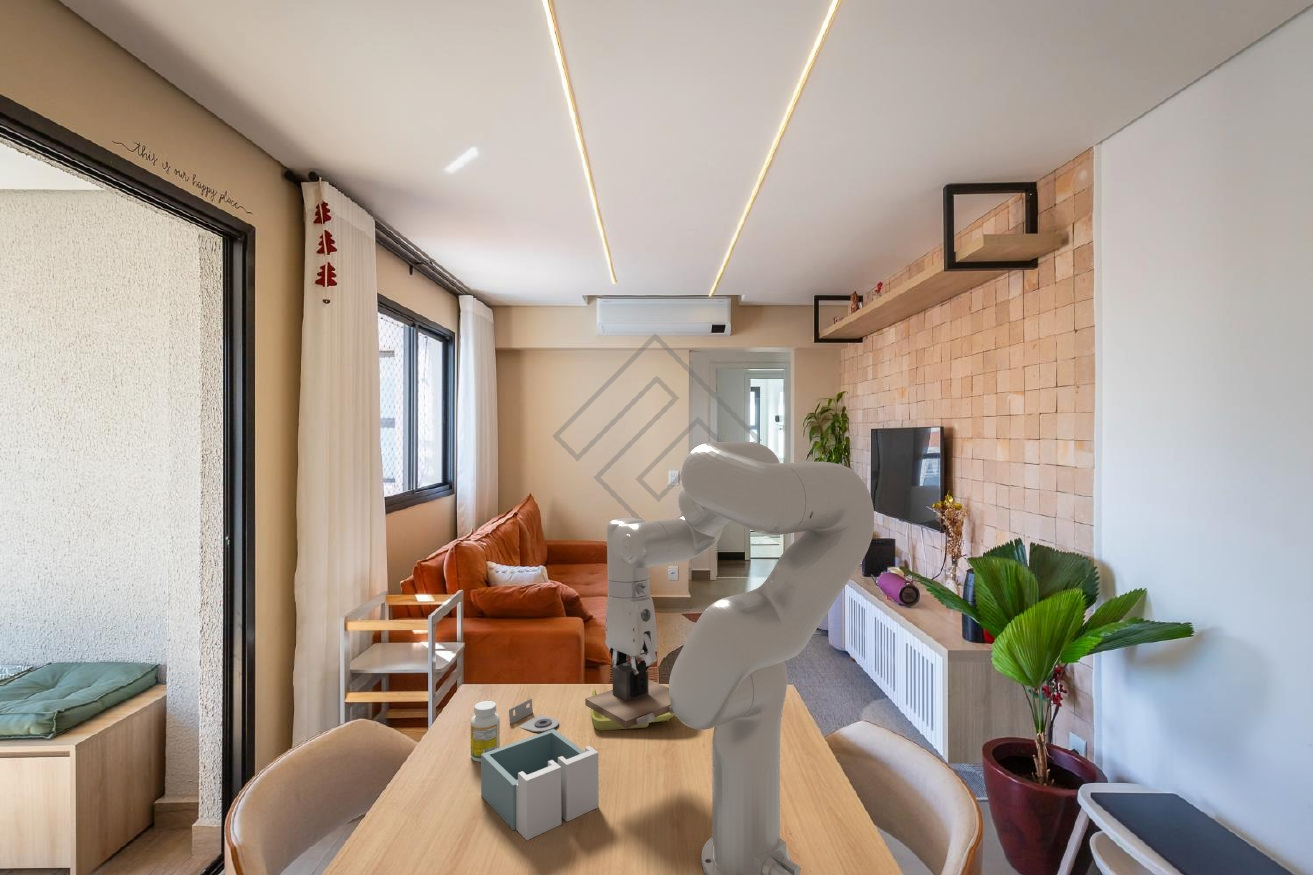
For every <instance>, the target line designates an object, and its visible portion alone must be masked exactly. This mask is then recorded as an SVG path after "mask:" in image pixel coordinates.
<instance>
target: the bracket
mask: <svg viewBox="0 0 1313 875" xmlns="http://www.w3.org/2000/svg"><path fill="white" fill-rule="evenodd" d="M532 713H533V699H532V698H529V699H527V700H525V701H523V702H521V703H519V704H517V705H515V706H512V707H511V708H509V710H508V719H509V724H510V725H512V724H514V723H516V722H517V721H519V720H521V719H523V718H525V717H527V716H529V715H531V714H532ZM536 717H537V718H535V719H534V717H532V718H531V719H530V718H529V719H528V720H527V721H524V723H523V724H521V725H518V726H517V728H520V729H523V730H526V731H529V732H531V733H532V732H533V733H544V732H546V731H549V730H552V729H556V728H557V727H558V726H559V723H560V721H559V719H557V718H555V717H552V716H548V715H543V714H537V715H536Z"/></svg>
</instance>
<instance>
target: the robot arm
mask: <svg viewBox="0 0 1313 875" xmlns="http://www.w3.org/2000/svg"><path fill="white" fill-rule="evenodd" d="M680 477H681V485H682V488H681V489H680V492H679V495H678V509H679V511H680V514H681V515H682V516H681V517H678V518H668V519H667V518H666V519H661V520H651V521H645V520H644V519H643V518H633V517H629V518H628V517H626V518H625V517H623V518H616V519H613V520H610V521H609V523H608V524H607V527H606V550H607V551H606V553H607V554H606V555H607V556H606V560H607V562H606V563H607V564H606V565H607V598H606V600H607V601H606V610H605V640H604V644H605V646H606V648H607V649H608V651H609V654H610V656H611V657H612V659H611V660H612V661H611V662H612V666H617V665H620V664H624V663H627V662H629V657H630V661H631V664H632V672H633V673H632V674H630V686H631V697H637V696H640V695H643V694H645V693H646V692H647V674H646V672H647V671H648V672H649V669H650V667H651V666H652V665H653V664H654V663H655V664H656V662H657V661H658V658H657V655H656V653H657V652H658V648H659V646H658V629H657V628H658V627H657V617H656V610H655V605H654V600H653V597H651V588H650V587H651V586H650V568H652V567H659V566H662V565H669V564H670V565H671V564H674V563H682V562H687V561H690V560H693V559H694V558H696V557H698V556H699V555H701V554H702V553H704V552H705V551H707V550H709V549H710V548H712V547H713V546H714V545H716V544H717V542H718V541H719V540H720V538H721V536H722V533H723V530H724V527H725V526H726V525H727V524H729V523H730V522H731V523H734V524H736V525H739V526H741V527H743V528H745V529H748V530H749V531H752V532H755V533H758V534H761V535H768V536H769V535H770V536H779V535H780V536H781V535H788V534H795V533H800V532H802V533H801V534H800V535H799V537H798V538H796V540H794V542H793V543H791V544H790V545H789V546H788V547H787V548H786V549H785V550H784V552H783V553H782V554H781V555H780V557H779V558H778V559H777V561H776V563H775V565H774V567H773V569H772V570H771V572H769V574H768V577H767V578H766V579H765V580H764V581H763V583H762V584H761V585H760V586H759V587H757V588H755V589H752V590H750V591H747V592H743V593H739V594H733V595H730V596H726V597H723V598H720V599H719V600H716V601H714V602H713V603H711V604H710V605H709V606H707V608H706V609H705V610H704V611H703V612H702V613H701V615H700V616H699V618H698V619H697V621H696V622H695V623H694V626H693V628H692V630H691V631H690V633H689V635H688V636H687V639H686V641H685V643H684V645H683V646H682V649H681V650H680V652H679V653H678V656H677V657H676V660H675V661H674V664H673V666H672V669H671V671H670V675H669V680H668V688H669V698H670V703H671V706H672V709H673V711H674V713H675V716H676V718H677V719H678V720H679V721H680V722H681V723H682V724H684V725H685V726H687V727H688V728H692V729H694V730H699V731H700V730H701V731H702V730H703V731H704V730H710V729H713V732H712V743H711V744H712V745H711V746H712V747H711V748H712V749H711V750H712V751H711V754H712V756H711V765H712V768H711V769H712V771H711V772H712V773H711V774H712V776H711V777H712V778H711V782H712V783H711V784H712V788H711V789H712V792H711V793H712V794H711V795H712V796H711V797H712V809H711V810H712V813H711V814H712V815H711V816H712V818H711V819H712V820H711V823H712V824H711V825H712V827H711V828H712V832H711V833H712V835H711V837H709V838H708V840H707V841H705V842H704V843H705V844H704V845H702V846H703V847H702V849H701V850H702V851H701V867H702V870H703V873H704V874H705V875H800V874H801V870H802V867H801V866H800V865H798V864H797V863H795V862H794V861H792V858H791V855H790V852H788V850H787V841H785V840H784V839H782V838H781V731H782V730H781V729H782V718H783V711H784V707H785V701H786V694H787V688H788V671H787V667H786V664H785V662H786V661H789V660H791V659H793V658H795V657H796V656H798V655H799V654H801V652H802V651H804V649H805V648H806V646H807V645H808V643H809V641H810V640H811V639H812V638H813V637H812V636H813V635H814V634H815V632H816V630H817V629H818V628H819V626H820V625H821V623H822V622H823V621H824V619H825V617H826V616H827V614H828V613H829V611H830V610H831V608H832V607H833V605H834V603H835V601H836V600H837V598H838V597H839V595H840V594H841V592H842V591H843V589H844V588H845V587H846V585H847V584H848V583H849V581H850V580H851V579H852V576H854V574H855V573H856V571H857V570H858V568H859V567H860V565H861V563H862V562H863V560H864V558H865V557H866V555H867V553H868V550H869V548H870V546H871V542H872V539H873V535H874V530H875V510H874V503H873V500H872V496H871V493H870V491H869V488H868V487H867V485H866V484H865V482H864V480H863V479H862V477H860V475H859V474H858V473H857V472H856V471H854V470H852V469H851V468H849V467H848V466H845V465H842V464H840V463H835V462H828V461H800V462H780V460H779V458H778V457H777V455H776V454H775V452H774V451H773V450H772V449H770V448H769V447H768V446H766V445H764V444H761V443H759V442H755V441H754V442H753V441H710V442H705V443H702V444H699V445H698V446H696V447H694V448H693V449H692V450H691V451H690V452H689V453H688V455H687V456H686V457H685V459H684V461H683V464H682V467H681V475H680ZM639 659H640V661H638V660H639ZM638 662H640V663H639V664H638Z"/></svg>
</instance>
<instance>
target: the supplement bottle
mask: <svg viewBox="0 0 1313 875" xmlns="http://www.w3.org/2000/svg"><path fill="white" fill-rule="evenodd" d="M496 711H497V703H496V702H495V701H493V700H484V701H483V700H482V701H479V702H477V703H476V704H474V710H473V712H474V715H473V716H472V717H471V720H470V757H471V759H472V761H474V762H478V763H481V754H483V753H486V752H489V751H492V750H495V749H498V748H500V747H501V746H500V741H501V739H500V727H501V726H500V716H499V714H498V713H496Z"/></svg>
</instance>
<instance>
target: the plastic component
mask: <svg viewBox="0 0 1313 875" xmlns="http://www.w3.org/2000/svg"><path fill="white" fill-rule="evenodd" d="M595 695H598V693H597V689H596V688H593V689H592V690H591V697H592V696H595ZM675 716H676V715H675V713H672V714H671V713H670V712H668V713H666V714H663V715H660V716H658V717H655V719H654V721H651V722H649V723H646V724H644V725H641V726H637V725H634V726H631V727H629V728H624V727H622V726H621V725H619V724H617V723H615V722H614V721H612V720H610V719H608V718H607V717H605V716H603V715H601V714H600V713H598V712H596V711H594V710H593V709H591V708H590V717H591V724H592V726H593V727H594V728H595V729H596V730H599V731H611V730H612V731H613V730H624V729H625V730H626V729H640V728H647V727H649V724H650V723H657V722H669V721H670V719H673V717H675Z"/></svg>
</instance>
